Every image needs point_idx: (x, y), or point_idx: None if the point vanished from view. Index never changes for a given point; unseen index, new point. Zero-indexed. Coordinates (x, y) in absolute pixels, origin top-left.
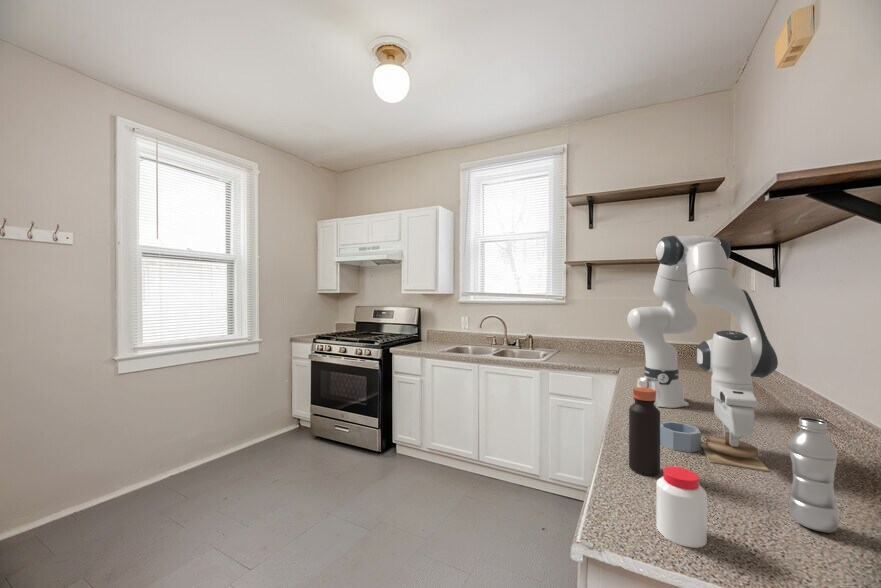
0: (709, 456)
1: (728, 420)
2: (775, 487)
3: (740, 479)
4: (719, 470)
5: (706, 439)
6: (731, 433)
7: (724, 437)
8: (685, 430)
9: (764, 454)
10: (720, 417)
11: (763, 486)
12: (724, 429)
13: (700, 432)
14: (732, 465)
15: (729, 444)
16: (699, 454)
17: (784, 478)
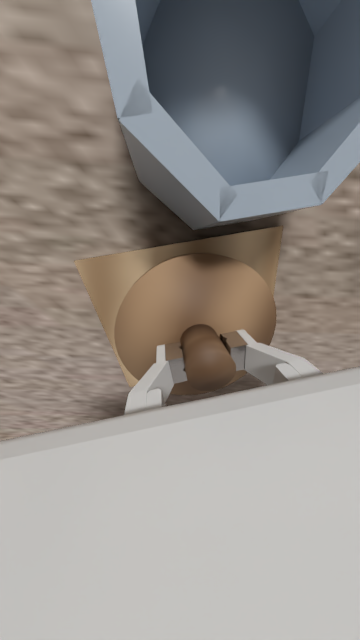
0: (125, 259)
1: (4, 577)
2: (35, 389)
3: (4, 335)
4: (22, 285)
5: (221, 255)
6: (130, 399)
7: (242, 329)
8: (334, 123)
9: (246, 378)
10: (337, 403)
11: (12, 373)
12: (262, 353)
13: (221, 219)
14: (103, 321)
15: (182, 339)
16: (142, 222)
17: (113, 400)
